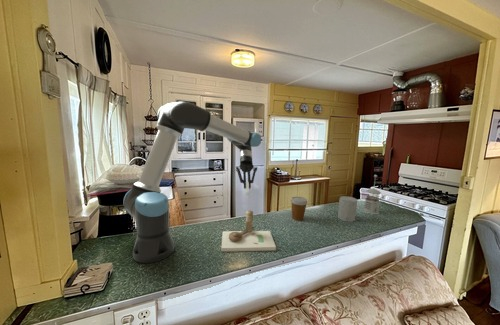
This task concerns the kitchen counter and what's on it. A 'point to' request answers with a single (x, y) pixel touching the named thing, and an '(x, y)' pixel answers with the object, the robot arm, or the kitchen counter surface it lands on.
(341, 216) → the grey cylinder
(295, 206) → the disposable coffee cup
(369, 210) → the french press
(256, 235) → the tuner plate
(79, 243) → the kitchen counter surface
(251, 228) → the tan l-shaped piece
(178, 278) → the kitchen counter surface
